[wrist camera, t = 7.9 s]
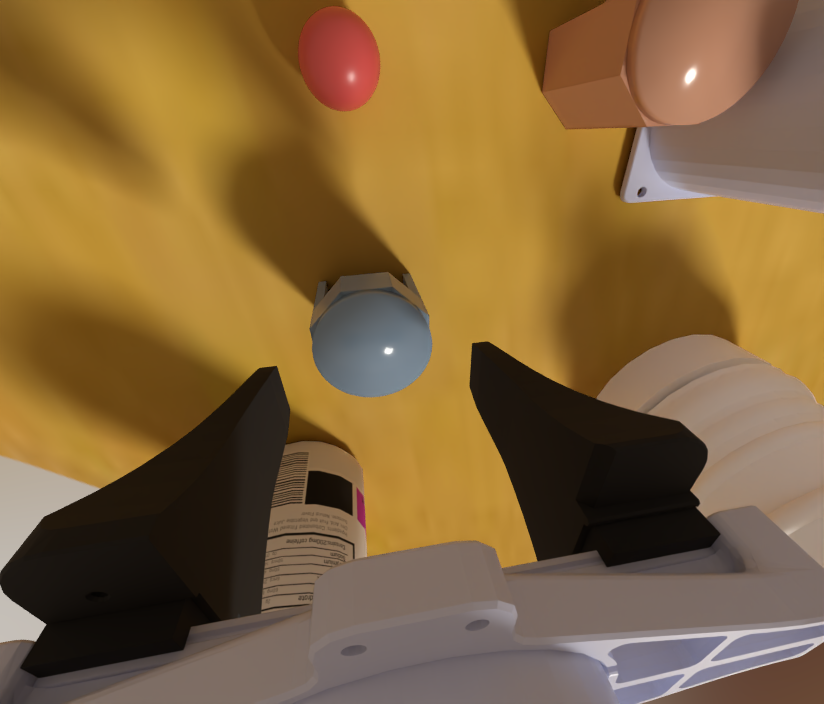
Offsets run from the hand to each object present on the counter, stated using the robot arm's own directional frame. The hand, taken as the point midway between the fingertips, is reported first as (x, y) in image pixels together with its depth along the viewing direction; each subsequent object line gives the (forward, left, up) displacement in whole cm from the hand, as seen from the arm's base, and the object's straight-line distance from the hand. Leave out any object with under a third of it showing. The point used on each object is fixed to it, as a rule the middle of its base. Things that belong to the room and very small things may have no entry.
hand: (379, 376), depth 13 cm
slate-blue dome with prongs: (0, 0, -8) cm, 8 cm away
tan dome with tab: (-11, -10, -8) cm, 17 cm away
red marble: (0, -10, -6) cm, 12 cm away
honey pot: (-23, +12, -8) cm, 27 cm away
